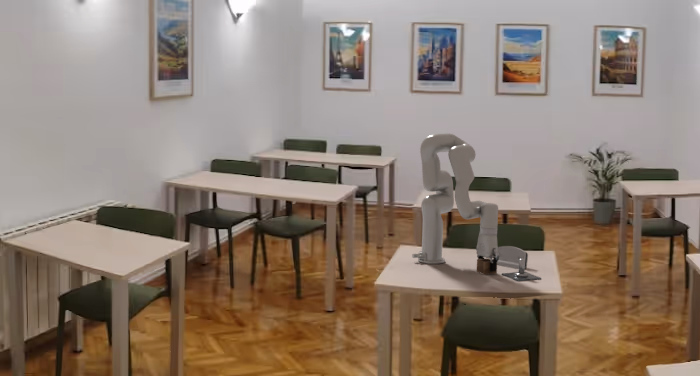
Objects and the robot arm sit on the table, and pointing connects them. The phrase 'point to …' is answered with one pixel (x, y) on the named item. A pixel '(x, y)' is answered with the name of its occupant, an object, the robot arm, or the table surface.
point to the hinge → (511, 256)
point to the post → (521, 273)
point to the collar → (484, 266)
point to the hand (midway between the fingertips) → (486, 269)
